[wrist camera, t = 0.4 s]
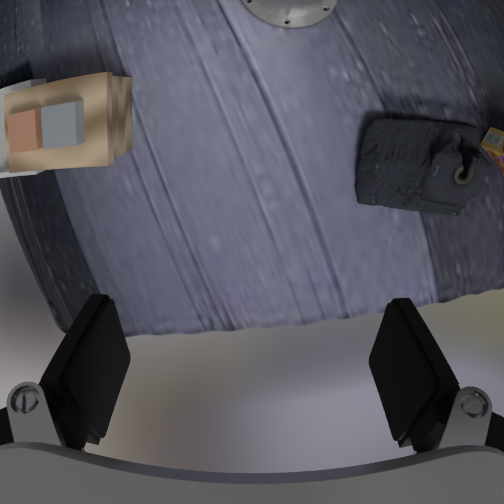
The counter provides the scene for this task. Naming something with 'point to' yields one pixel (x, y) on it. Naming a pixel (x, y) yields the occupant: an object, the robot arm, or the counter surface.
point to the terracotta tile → (25, 131)
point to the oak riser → (95, 121)
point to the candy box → (495, 146)
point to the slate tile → (63, 125)
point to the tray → (0, 151)
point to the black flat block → (419, 166)
